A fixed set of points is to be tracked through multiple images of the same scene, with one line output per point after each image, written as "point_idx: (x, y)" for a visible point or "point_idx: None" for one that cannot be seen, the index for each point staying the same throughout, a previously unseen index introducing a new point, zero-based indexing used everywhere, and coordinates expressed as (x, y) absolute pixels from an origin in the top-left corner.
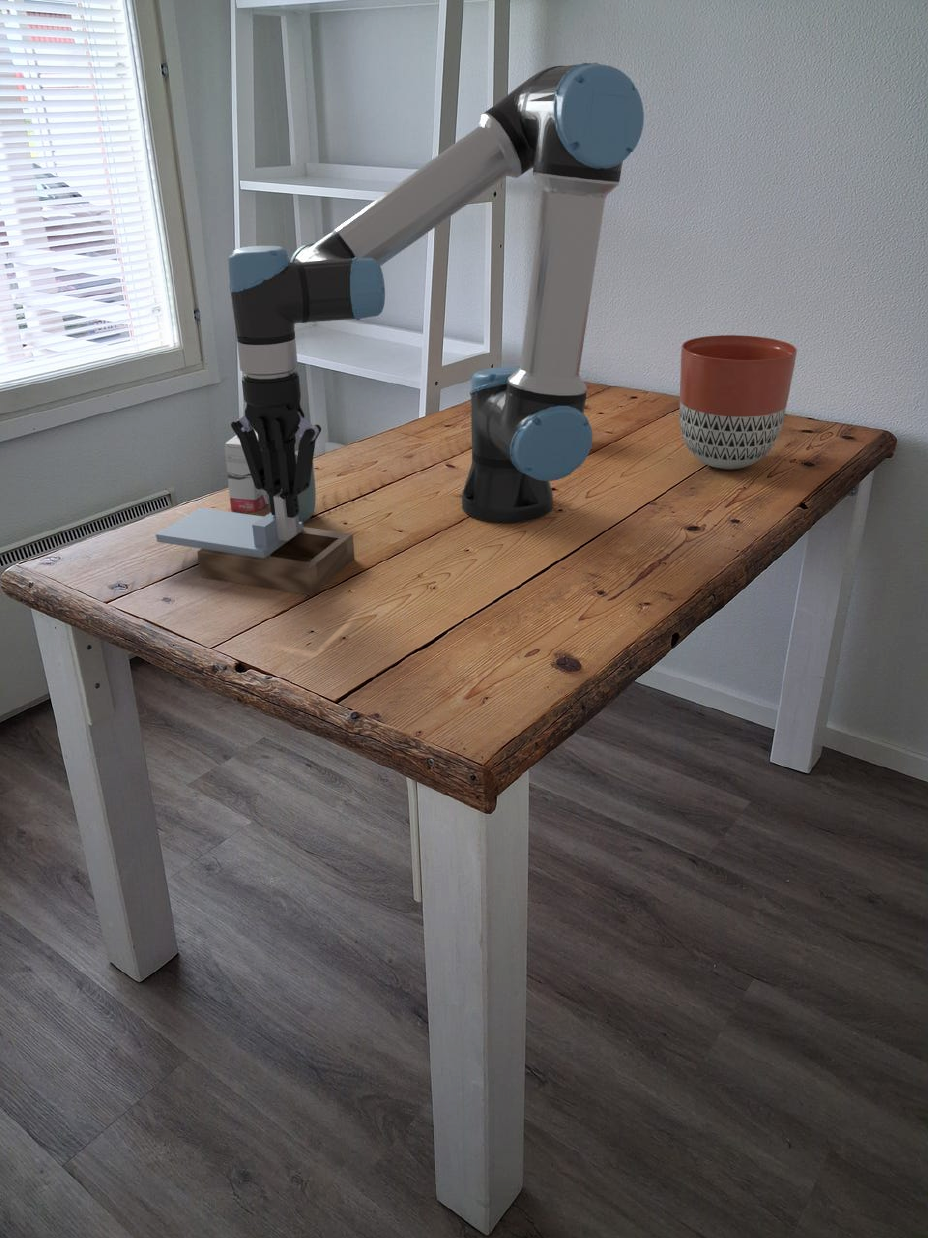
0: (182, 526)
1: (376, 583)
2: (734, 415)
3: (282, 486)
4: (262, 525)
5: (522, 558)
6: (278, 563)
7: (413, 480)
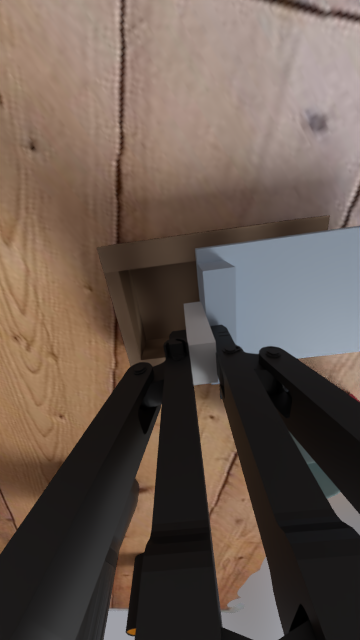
0: None
1: (78, 320)
2: None
3: (188, 367)
4: (211, 275)
5: (4, 422)
6: (159, 243)
7: (207, 495)
